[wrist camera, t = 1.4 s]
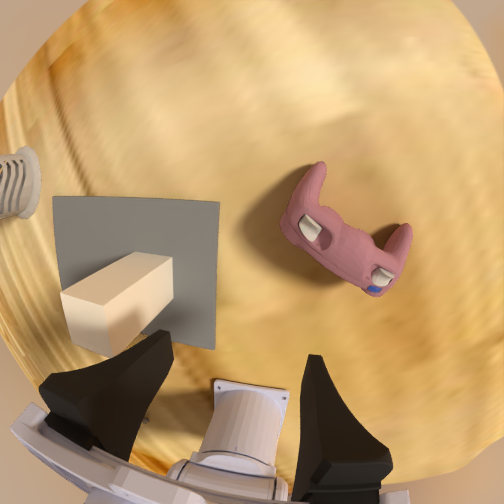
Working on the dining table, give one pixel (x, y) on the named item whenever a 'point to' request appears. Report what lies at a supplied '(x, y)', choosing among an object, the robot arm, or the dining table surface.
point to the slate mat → (146, 241)
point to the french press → (19, 183)
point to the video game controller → (342, 239)
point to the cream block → (117, 302)
